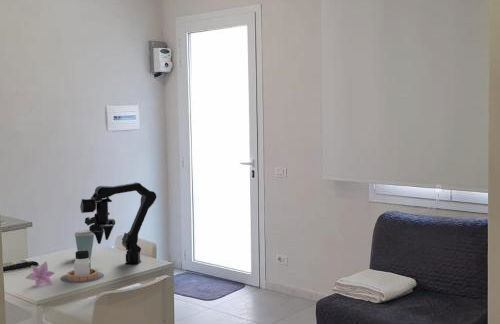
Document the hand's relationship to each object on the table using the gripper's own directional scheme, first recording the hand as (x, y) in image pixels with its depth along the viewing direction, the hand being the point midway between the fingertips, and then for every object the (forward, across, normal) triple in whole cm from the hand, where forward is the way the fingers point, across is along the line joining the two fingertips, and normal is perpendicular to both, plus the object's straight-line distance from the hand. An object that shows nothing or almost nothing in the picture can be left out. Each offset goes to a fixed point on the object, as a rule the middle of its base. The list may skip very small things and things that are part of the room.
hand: (103, 241), depth 299 cm
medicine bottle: (+12, +20, -2) cm, 23 cm away
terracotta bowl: (+13, +20, -2) cm, 24 cm away
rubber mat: (+13, +20, -2) cm, 24 cm away
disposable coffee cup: (+13, -17, -18) cm, 28 cm away
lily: (+13, +34, -15) cm, 40 cm away
